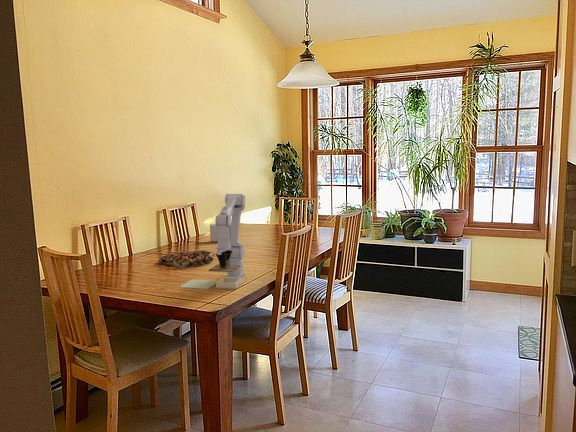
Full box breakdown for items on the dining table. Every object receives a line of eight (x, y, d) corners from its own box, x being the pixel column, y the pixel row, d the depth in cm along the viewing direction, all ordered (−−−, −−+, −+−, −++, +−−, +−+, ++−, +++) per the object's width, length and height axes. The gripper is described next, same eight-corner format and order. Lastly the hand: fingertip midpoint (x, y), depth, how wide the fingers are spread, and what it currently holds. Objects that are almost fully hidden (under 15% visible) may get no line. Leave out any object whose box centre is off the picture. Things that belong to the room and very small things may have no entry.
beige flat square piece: (191, 279, 251) (191, 279, 251) (218, 281, 248) (218, 280, 248) (179, 287, 238) (179, 286, 238) (207, 289, 234) (207, 288, 234)
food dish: (203, 271, 274) (202, 258, 272) (149, 270, 280) (147, 257, 279) (223, 256, 308) (222, 244, 306) (174, 255, 314) (173, 244, 313)
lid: (217, 265, 246) (217, 257, 245) (240, 266, 243) (240, 258, 242) (208, 271, 234) (208, 262, 233) (232, 272, 231) (231, 263, 231)
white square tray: (223, 282, 245) (223, 277, 245) (242, 283, 243) (242, 277, 242) (216, 288, 235) (216, 282, 235) (235, 289, 233) (235, 283, 233)
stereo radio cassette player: (212, 243, 353) (211, 215, 350) (209, 241, 361) (208, 214, 358) (239, 240, 361) (239, 214, 358) (236, 238, 369) (235, 212, 366)
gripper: (221, 236, 244) (222, 262, 246) (210, 241, 230) (211, 269, 232) (234, 236, 243) (235, 263, 245) (224, 241, 229) (225, 269, 231)
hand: (224, 266), depth 238 cm, fingers closed on lid, 4 cm apart
